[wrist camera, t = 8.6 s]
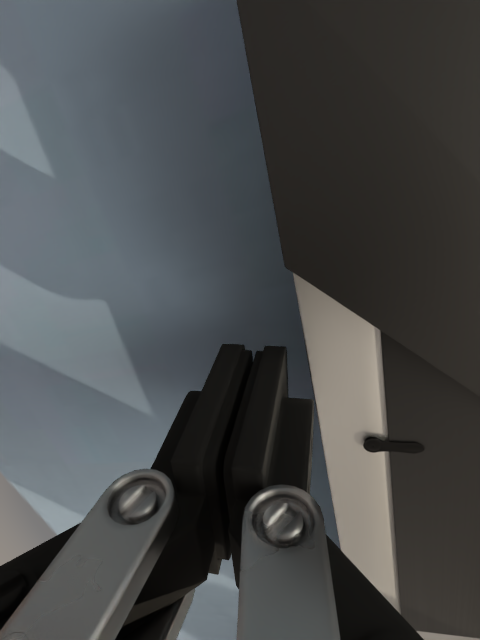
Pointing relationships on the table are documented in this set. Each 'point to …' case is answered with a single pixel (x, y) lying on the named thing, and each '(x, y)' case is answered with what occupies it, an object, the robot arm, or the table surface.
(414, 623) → the picture frame
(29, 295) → the table surface
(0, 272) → the table surface
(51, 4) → the table surface
